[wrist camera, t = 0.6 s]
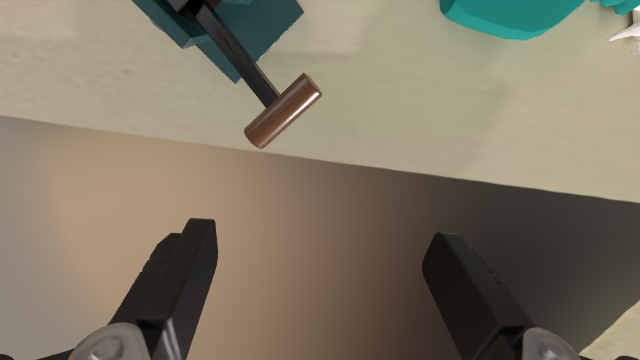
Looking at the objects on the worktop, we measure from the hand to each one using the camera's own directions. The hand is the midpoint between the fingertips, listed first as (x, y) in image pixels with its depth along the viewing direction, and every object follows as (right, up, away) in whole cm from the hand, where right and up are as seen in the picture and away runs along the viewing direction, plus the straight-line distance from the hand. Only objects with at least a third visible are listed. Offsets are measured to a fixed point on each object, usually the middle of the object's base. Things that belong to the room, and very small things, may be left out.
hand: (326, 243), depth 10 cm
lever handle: (-6, +11, +9) cm, 15 cm away
